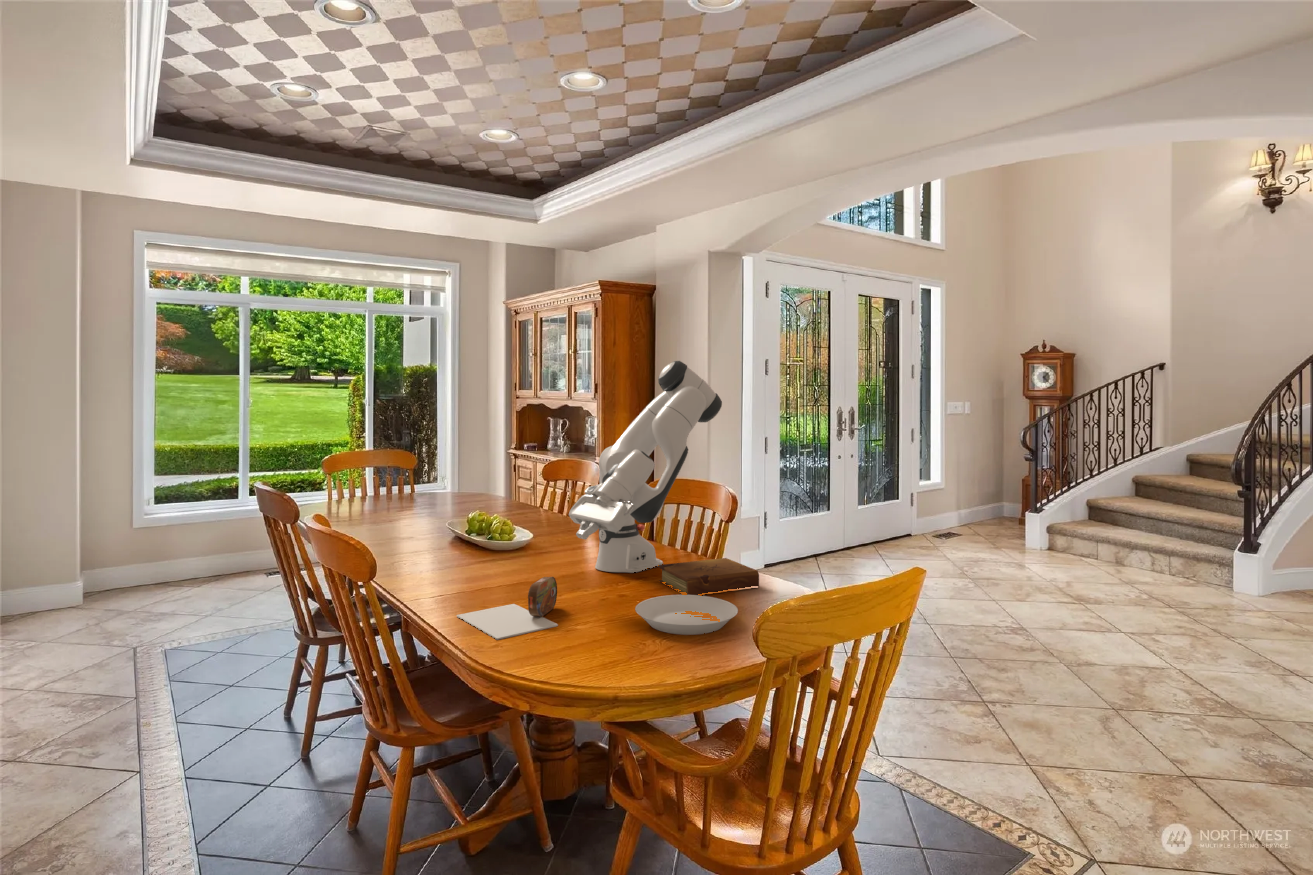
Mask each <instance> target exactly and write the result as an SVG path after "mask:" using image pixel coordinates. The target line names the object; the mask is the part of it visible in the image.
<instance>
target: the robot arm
mask: <svg viewBox="0 0 1313 875" xmlns="http://www.w3.org/2000/svg"><path fill="white" fill-rule="evenodd" d="M657 378H658V385H659V387H660V388H661V389H662V392H661V393H660V394H658V395H657V396H655V397H654V398H653V399H652V400H651V401H650V402H649V403H648V404H647V405H646V406H645V407H644V408H643V409H642V411H641V412H639V415H637V416H636V417H635V418H634V419H633V420H632V421H631V422H630V424H629V425H628V427H626V429H625V430H624V431H623V433H622V434H621V435H620V437H619V438H618V439H617V440H616V441H615V443H614V444H613V445H610V446H608V447H606V448H605V449H604V450H603V451H602V452H601V453H600V456H599V459H598V469H599V470H598V471H599V472H598V476H599V477H598V478H599V480H598V481H599V484H595V485H592V486H587V488H586V489H585V490H584V494H583V495H581V496H580V497H579V498H578V500H577V501H576V502H575V503H574V504H573V506H572V507H571V509H570V510H569V513H568V516H569V518H570V519H571V520H572V521H573V523H575V524H579V529H578V530H577V532H576V533H575V535H576V537H577V538H579V539H582V540H587V539H588V538H589V537H590V536H591V535H592V534H594V533H596V532H597V531H598V539H599V546H598V554H597V558H596V562H595V565H594V568H595V569H597V570H598V571H603V572H606V573H607V572H609V573H627V574H628V573H629V574H633V573H634V572H636V573H639V572H643V571H646V570H648V569H647V568H650V569H652V568H653V567H654V568H656V567H655V566H657V567H659V566H658V565H662V564H663V565H664V562H663V560H661V559H659V558H657V554H656V548H655V547H654V545H653V544H652V543H651V542H649V541H648V540H647V539H646V538H644V537H643V536H642V535H641V534H640V532H639V531H641V532H644V531H645V529H646V526H645V524H647V523H649V524H650V523H652V522H653V521H654V520H656V519H657V518H658V516H659V515H660V513H661V511H662V509H663V506H664V504H665V500H666V498H667V497H668V495H669V492H670V490H671V489H672V487H673V484H674V483H675V481H676V479H677V477H678V475H679V473H680V472H681V469H682V467H683V465H684V463H685V461H686V459H687V456H688V454H689V448H688V445H687V442H688V438H689V434H690V433H691V432H692V430H693V429H694V428H695V426H696V425H697V423H708V422H710V421H711V420H713V419H715V418H716V416H717V415H718V414H719V413H720V411H721V409H722V405H723V402H722V399H721V397H720V396H719V395H718V393H716V392H715V391H714V390H713V389H712V387H711V386H710V385H709V384H708V383H707V382H706V381H705V380H704V378H702V377H701V376H699V375H698V374H697V373H696V372H694V371H693V370H692V369H690V368H689V367H688V364H686V363H684V362H683V361H681V360H674V361H672V362H671V363H667V365H665V366H664V367H663V368H662V370H661V371H660V373H659V375H658V377H657ZM658 446H659V448H660V450H661V451H662V453H663V456H664V458H665V461H666V464H665V465H666V467H665V469H664V470H663V472H662V475H661V477H660V478H659V480H658V482H657V484H656V486H655V487H652V486H650V485H649V484H648V483H647V481H648V480H649V477H650V476H651V474H652V473H653V471H654V469H655V466H656V463H655V462H654V460H653V459H652V458H651V457H650V455H651V454H652V453H653V452H654V450H655V449H656V448H657V447H658ZM635 521H636V522H637V523H639V524H637V523H636V522H635ZM654 568H653V569H654ZM645 569H646V570H645ZM642 570H643V571H642ZM634 574H635V573H634Z"/></svg>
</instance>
